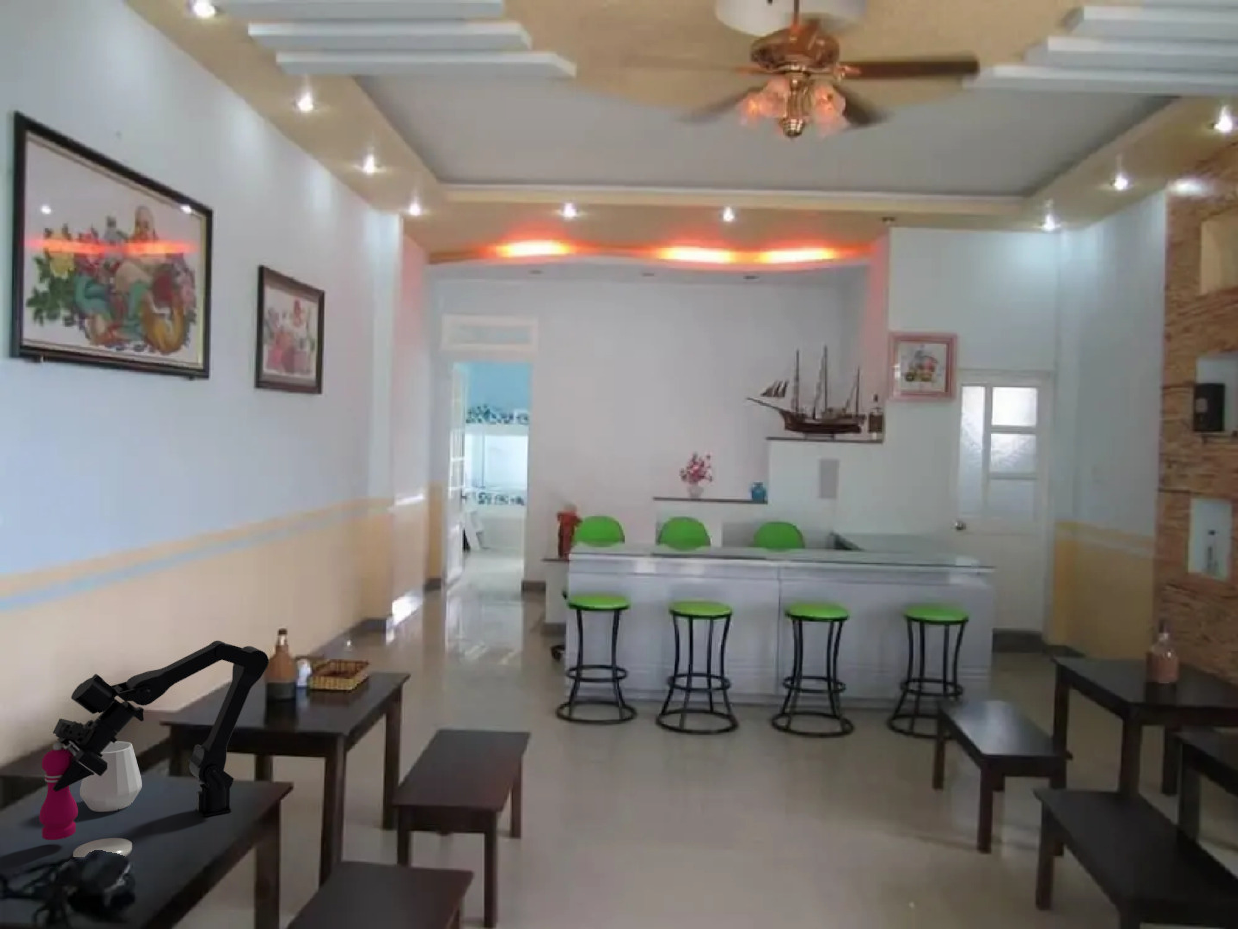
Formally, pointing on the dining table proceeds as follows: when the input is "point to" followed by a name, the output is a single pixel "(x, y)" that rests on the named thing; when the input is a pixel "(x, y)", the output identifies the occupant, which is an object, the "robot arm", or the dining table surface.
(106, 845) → the saucer
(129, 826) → the dining table surface
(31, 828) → the dining table surface
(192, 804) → the dining table surface
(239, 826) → the dining table surface
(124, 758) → the cup
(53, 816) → the pepper mill
